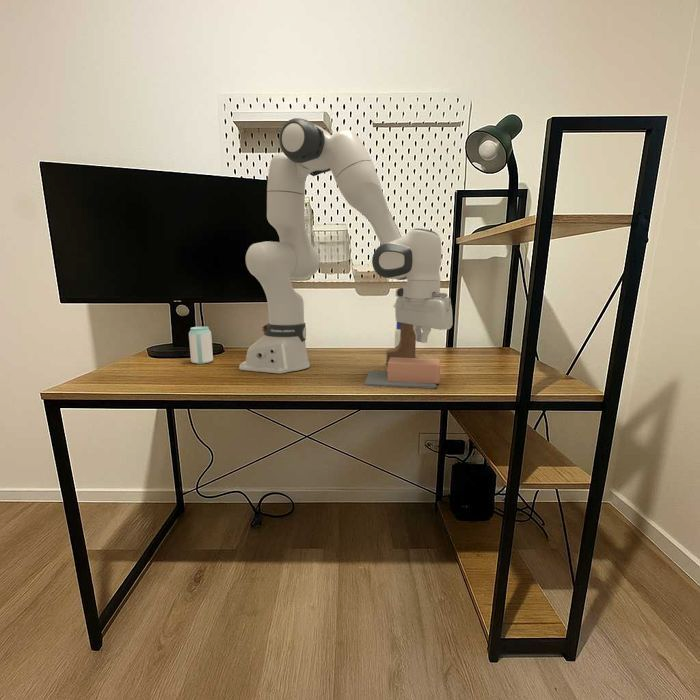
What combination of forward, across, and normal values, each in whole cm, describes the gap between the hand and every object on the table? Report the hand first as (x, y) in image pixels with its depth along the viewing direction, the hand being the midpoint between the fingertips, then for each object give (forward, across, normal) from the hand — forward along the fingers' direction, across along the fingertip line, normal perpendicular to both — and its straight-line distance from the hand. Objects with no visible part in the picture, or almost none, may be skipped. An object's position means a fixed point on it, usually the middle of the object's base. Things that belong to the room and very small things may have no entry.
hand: (421, 342), depth 108 cm
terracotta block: (+8, -3, -4) cm, 10 cm away
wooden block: (+11, +20, -8) cm, 24 cm away
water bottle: (+11, +29, -16) cm, 35 cm away
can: (+11, +55, +50) cm, 75 cm away
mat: (+11, +3, +4) cm, 12 cm away
